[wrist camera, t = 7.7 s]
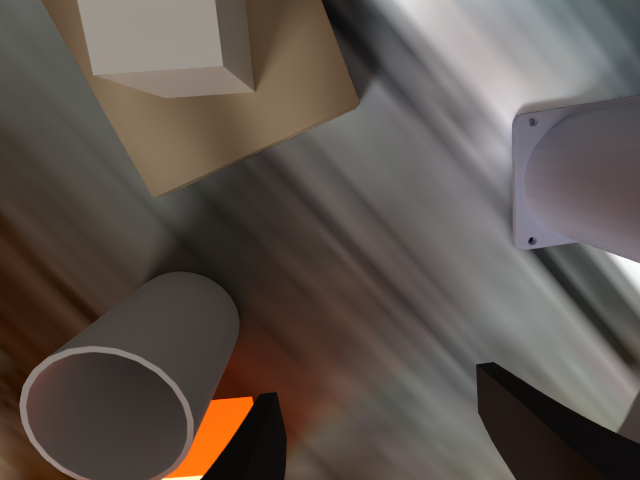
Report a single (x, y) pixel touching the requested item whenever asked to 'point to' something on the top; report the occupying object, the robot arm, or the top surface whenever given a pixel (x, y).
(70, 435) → the cup
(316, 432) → the top surface
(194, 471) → the orange juice
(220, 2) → the ceramic block
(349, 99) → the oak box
